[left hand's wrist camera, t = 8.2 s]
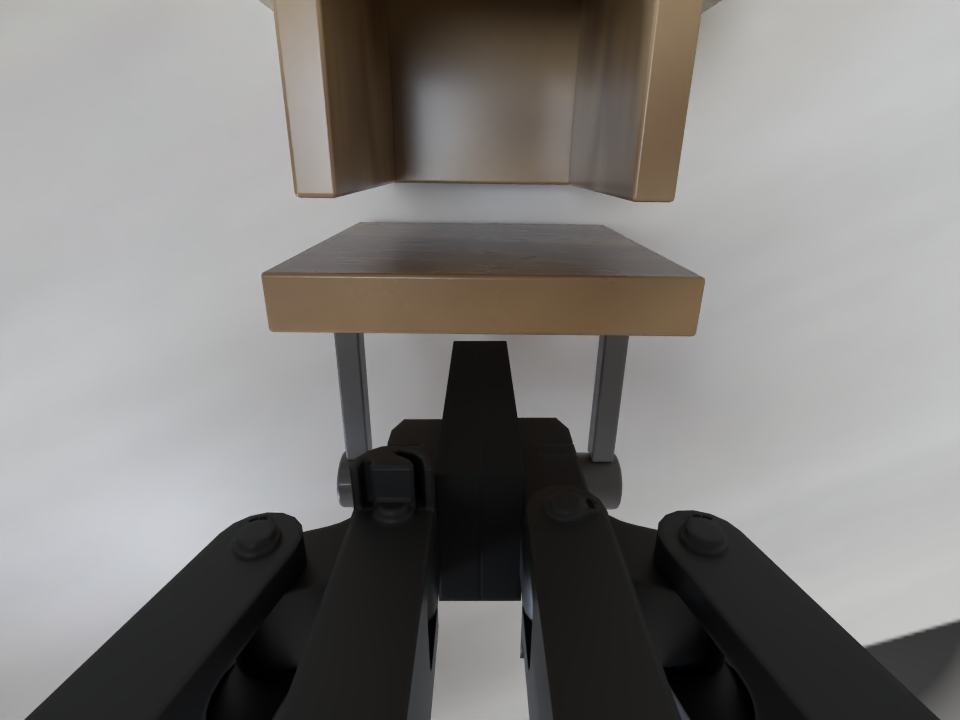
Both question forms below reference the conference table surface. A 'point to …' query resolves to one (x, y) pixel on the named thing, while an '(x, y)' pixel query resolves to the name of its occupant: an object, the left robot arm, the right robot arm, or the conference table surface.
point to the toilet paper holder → (486, 179)
